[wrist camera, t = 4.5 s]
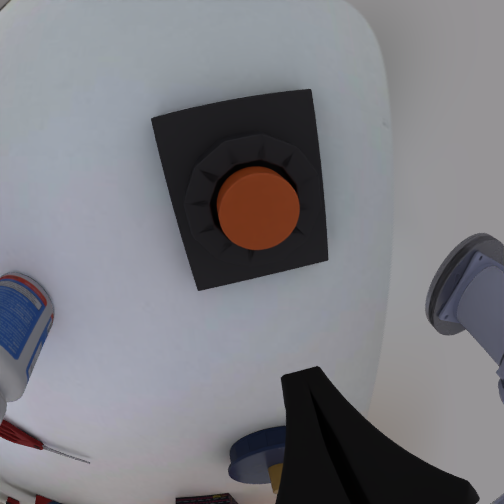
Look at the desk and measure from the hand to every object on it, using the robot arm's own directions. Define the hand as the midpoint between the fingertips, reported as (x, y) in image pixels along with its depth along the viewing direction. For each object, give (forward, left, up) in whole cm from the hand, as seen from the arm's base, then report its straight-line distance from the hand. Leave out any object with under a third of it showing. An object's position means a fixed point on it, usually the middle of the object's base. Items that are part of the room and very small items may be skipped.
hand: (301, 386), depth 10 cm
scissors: (+17, +32, -10) cm, 38 cm away
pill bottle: (+15, +8, -10) cm, 20 cm away
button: (+2, -4, -7) cm, 9 cm away
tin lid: (-11, +23, -8) cm, 27 cm away
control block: (+2, -4, -10) cm, 11 cm away
